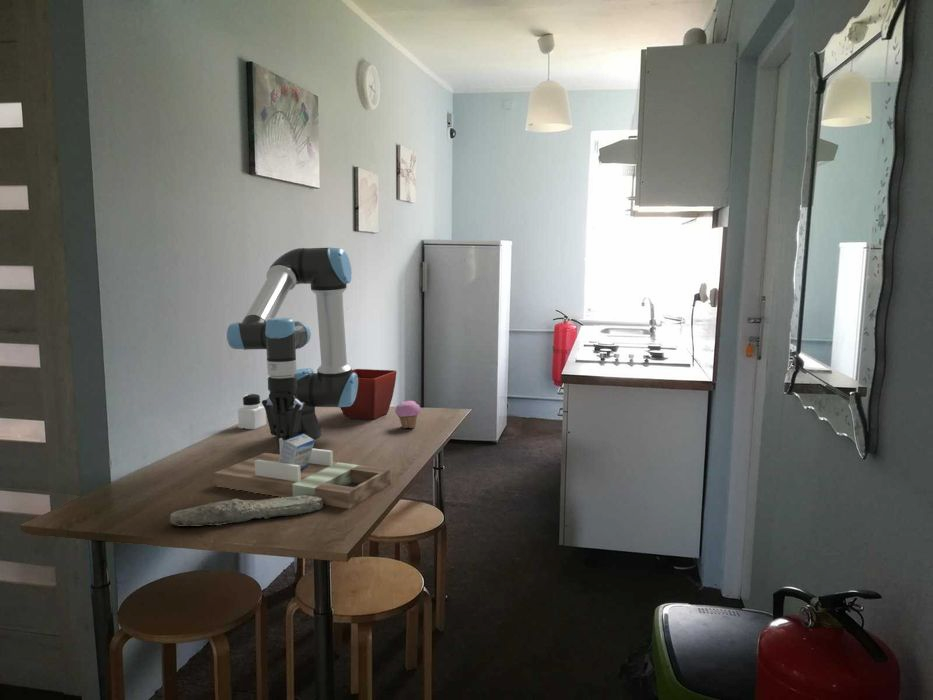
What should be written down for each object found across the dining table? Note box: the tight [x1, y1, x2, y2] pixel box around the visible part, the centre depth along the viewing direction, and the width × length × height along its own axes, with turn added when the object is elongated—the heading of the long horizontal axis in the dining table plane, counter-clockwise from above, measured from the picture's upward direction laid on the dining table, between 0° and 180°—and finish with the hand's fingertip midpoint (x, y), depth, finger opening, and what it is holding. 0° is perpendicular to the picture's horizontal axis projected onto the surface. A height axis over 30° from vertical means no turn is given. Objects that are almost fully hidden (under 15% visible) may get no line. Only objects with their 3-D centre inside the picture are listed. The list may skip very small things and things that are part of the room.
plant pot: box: [339, 368, 398, 421], centre depth 260 cm, size 19×19×17 cm
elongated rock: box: [169, 495, 324, 527], centre depth 159 cm, size 35×5×10 cm
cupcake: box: [395, 400, 421, 429], centre depth 240 cm, size 9×9×10 cm
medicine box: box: [279, 434, 315, 470], centre depth 179 cm, size 8×4×9 cm, turn 155°
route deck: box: [214, 452, 392, 510], centre depth 180 cm, size 20×43×4 cm, turn 66°
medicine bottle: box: [237, 393, 267, 430], centre depth 245 cm, size 7×7×12 cm
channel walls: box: [255, 447, 334, 482], centre depth 181 cm, size 15×14×4 cm
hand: (285, 460), depth 182 cm, fingers closed
